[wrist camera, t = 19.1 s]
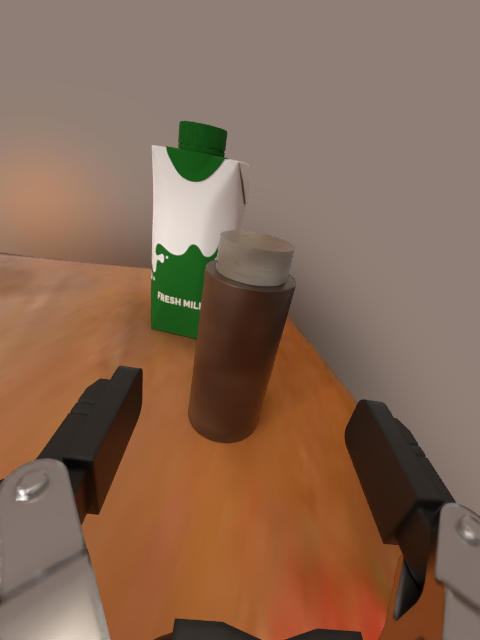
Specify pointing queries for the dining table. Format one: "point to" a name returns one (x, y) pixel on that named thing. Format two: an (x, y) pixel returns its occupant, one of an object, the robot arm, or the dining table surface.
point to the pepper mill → (239, 333)
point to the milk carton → (191, 220)
